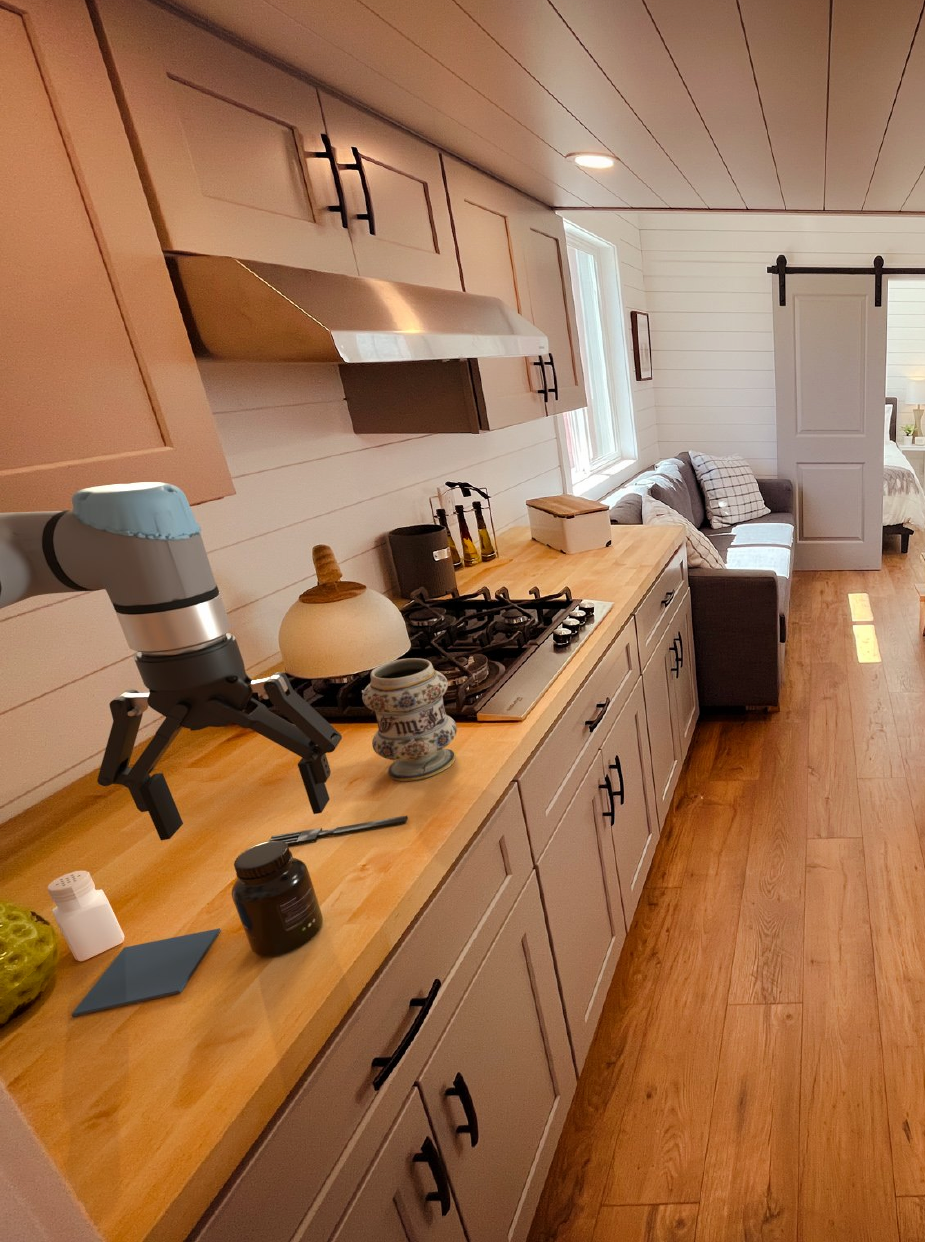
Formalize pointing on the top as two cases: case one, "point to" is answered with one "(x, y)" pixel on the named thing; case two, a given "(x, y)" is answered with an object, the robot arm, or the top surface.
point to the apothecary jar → (411, 718)
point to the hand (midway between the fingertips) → (249, 819)
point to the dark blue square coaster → (148, 972)
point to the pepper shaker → (84, 915)
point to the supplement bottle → (275, 899)
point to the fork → (335, 831)
